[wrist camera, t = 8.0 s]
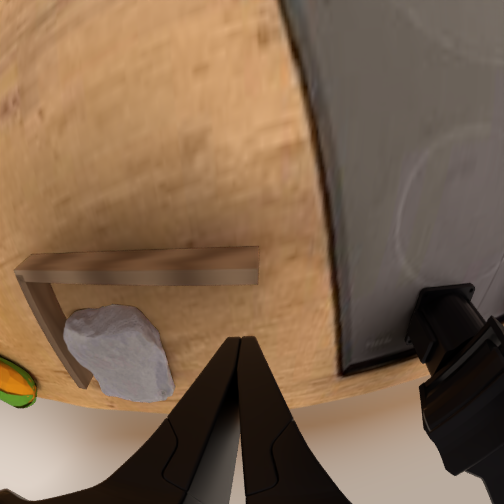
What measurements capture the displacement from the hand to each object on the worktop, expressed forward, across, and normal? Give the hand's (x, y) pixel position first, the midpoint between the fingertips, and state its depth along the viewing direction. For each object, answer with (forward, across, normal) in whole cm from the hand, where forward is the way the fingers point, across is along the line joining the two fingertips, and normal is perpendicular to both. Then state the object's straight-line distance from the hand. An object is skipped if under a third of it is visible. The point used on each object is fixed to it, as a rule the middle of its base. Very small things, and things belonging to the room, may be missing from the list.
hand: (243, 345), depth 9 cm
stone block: (+13, +14, +14) cm, 23 cm away
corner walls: (+12, +11, +11) cm, 20 cm away
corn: (+13, +46, +22) cm, 53 cm away
